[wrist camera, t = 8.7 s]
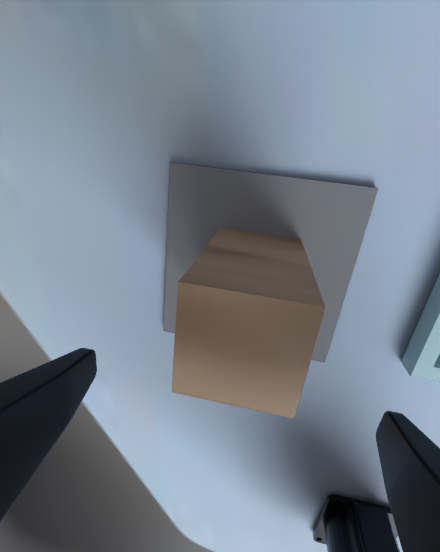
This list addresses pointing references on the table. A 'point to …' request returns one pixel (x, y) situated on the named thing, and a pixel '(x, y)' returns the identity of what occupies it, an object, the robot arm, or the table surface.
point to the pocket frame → (426, 341)
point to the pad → (268, 227)
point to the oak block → (247, 322)
